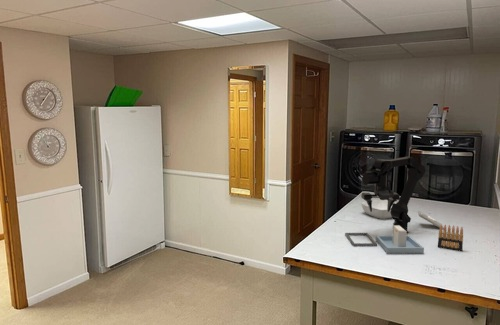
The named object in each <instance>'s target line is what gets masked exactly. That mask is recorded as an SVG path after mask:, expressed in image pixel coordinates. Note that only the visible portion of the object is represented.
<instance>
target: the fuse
mask: <svg viewBox="0 0 500 325" xmlns="http://www.w3.org/2000/svg"><path fill="white" fill-rule="evenodd" d="M407 231H408V230H407ZM407 231H406V230H404V229H403V228H402V227H401V226H400V225H393V224H392V235H391V236H392V243H393V244H394V245H395V246H396V247H406V236H407V234H408V233H407Z"/></svg>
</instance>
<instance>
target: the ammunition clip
mask: <svg viewBox="0 0 500 325" xmlns="http://www.w3.org/2000/svg"><path fill="white" fill-rule="evenodd" d="M442 226H443V228H444V229H443V230H442ZM438 229H439V231H438V241H437V249H444V250H450V251H455V252H463V244H464V227H463V226H461V227H460V228H459V226H458V225H457V226H456V228H455V225H453V226H452V228H451V225H450V224H449V225H448V226H447V224H444V225H443V224H442V223H441V225H440V228H438Z"/></svg>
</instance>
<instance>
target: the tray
mask: <svg viewBox="0 0 500 325" xmlns="http://www.w3.org/2000/svg"><path fill="white" fill-rule="evenodd" d="M375 242H376V243H377V245H378V246H380V248H381V249H382V250H383V251H384V252H385V254H386V255H424V252H425V248H424V247H423V245H421V244H420V243H419V242H418V241H416V240H415V239H414V238H412V236H411V235H406V247H396V246H395V245H394V244H393V243H392V235H376V236H375Z"/></svg>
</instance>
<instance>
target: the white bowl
mask: <svg viewBox="0 0 500 325" xmlns="http://www.w3.org/2000/svg"><path fill="white" fill-rule="evenodd" d="M371 200H372V212H370V209H369V206H368V203H367V201H363V202H361V208H362V210H363V212H365V213H366V214H367V215H369V216H371V217H374V218H377V219H378V220H386V219H391V218H392V216H391V213H390V211H391V210H390V211H389V212H388V210H387V206H388V200H380V199H371ZM394 203H395V204H396V203H397V202H394ZM392 205H393V204H392ZM391 208H392V206H391Z"/></svg>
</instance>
